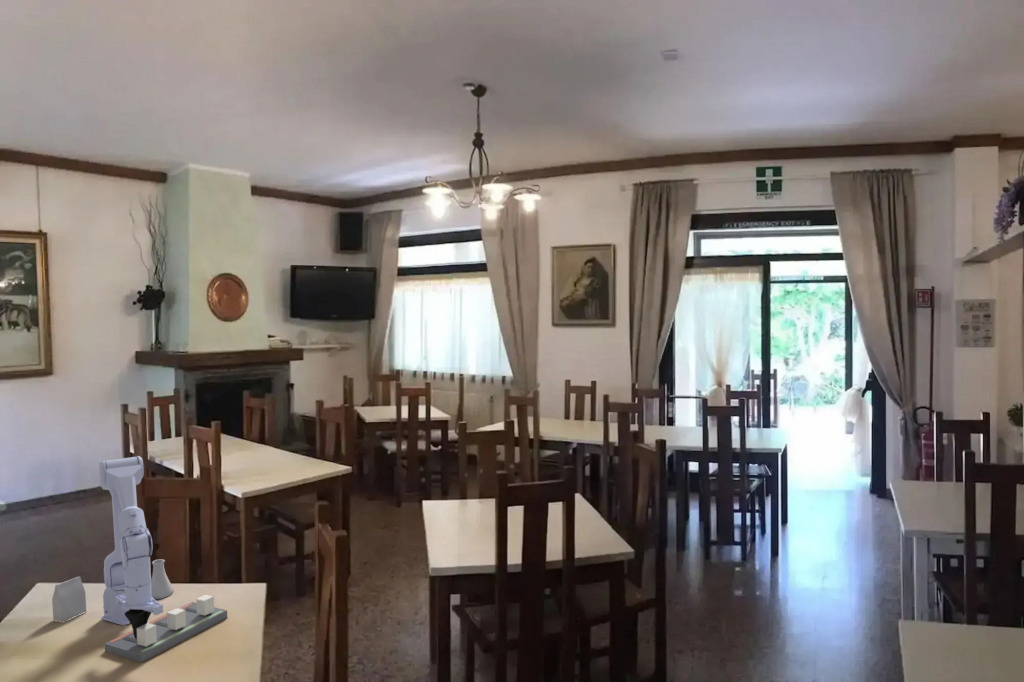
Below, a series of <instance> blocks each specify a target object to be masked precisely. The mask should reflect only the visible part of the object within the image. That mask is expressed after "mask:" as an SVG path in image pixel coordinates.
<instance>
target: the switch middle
mask: <svg viewBox="0 0 1024 682" xmlns="http://www.w3.org/2000/svg"><path fill="white" fill-rule="evenodd" d="M166 614H167V622H168V628H170V629H173V630H177V629H179V628H181V627H183V626H185V625H186V613H185V610H183V609H179V608H178V607H176V608H174V609H172V610H169V611H167V613H166Z"/></svg>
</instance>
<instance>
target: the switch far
mask: <svg viewBox="0 0 1024 682" xmlns="http://www.w3.org/2000/svg"><path fill="white" fill-rule="evenodd" d="M214 601H215V599H214V596H212V595H210V594H209V595H208V594H204V595H202V596H199V597H197V598H196V601H195V603H197V614H201V615H207V614H209V613H211V612H213V611H214V607H215V602H214Z"/></svg>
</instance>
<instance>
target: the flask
mask: <svg viewBox="0 0 1024 682" xmlns="http://www.w3.org/2000/svg"><path fill="white" fill-rule="evenodd" d="M165 562H166V560H165V559H163V558H162V559H155V560H153V561H151V565H152V566H153V567H152V574H151V591H152V598H154V599H155V600H157V599H163V598H166V597H168V596H169V597H170V596H171V595H172V594H173V593H174V592H175V589H174V587H173V585H172V583H171V582H170V580H169V577H168V576H167V574H166V569H165Z"/></svg>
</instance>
